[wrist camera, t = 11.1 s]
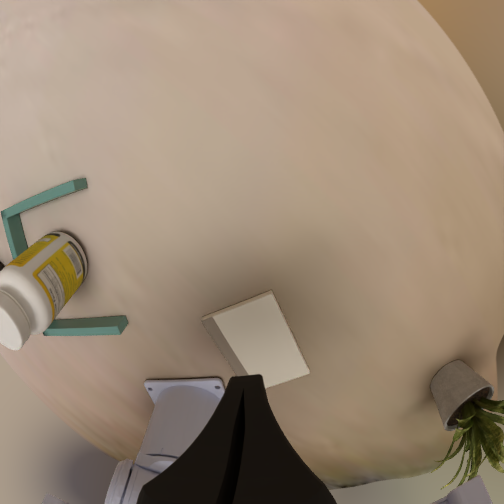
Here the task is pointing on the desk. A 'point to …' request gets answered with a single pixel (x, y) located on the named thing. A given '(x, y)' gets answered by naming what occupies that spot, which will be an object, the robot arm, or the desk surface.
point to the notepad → (257, 340)
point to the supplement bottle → (38, 287)
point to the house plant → (469, 415)
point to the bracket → (19, 245)
